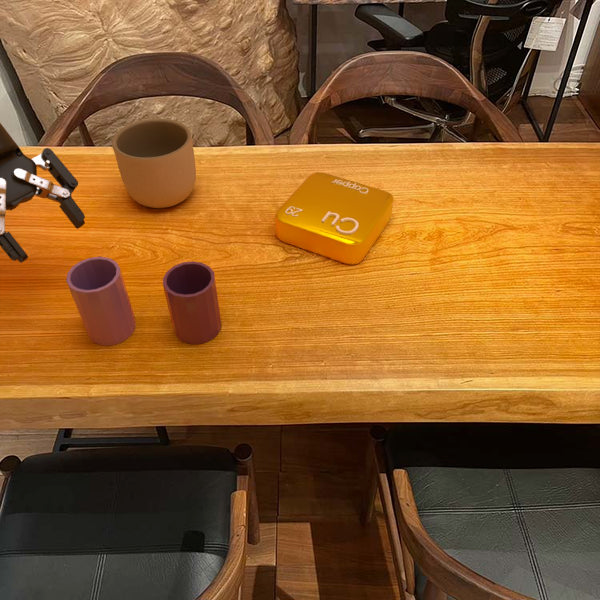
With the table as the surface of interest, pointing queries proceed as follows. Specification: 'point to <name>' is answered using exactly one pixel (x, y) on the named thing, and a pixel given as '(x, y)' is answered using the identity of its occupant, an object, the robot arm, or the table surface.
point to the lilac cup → (102, 300)
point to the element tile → (334, 217)
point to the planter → (156, 161)
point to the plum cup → (192, 302)
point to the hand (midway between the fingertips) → (54, 242)
